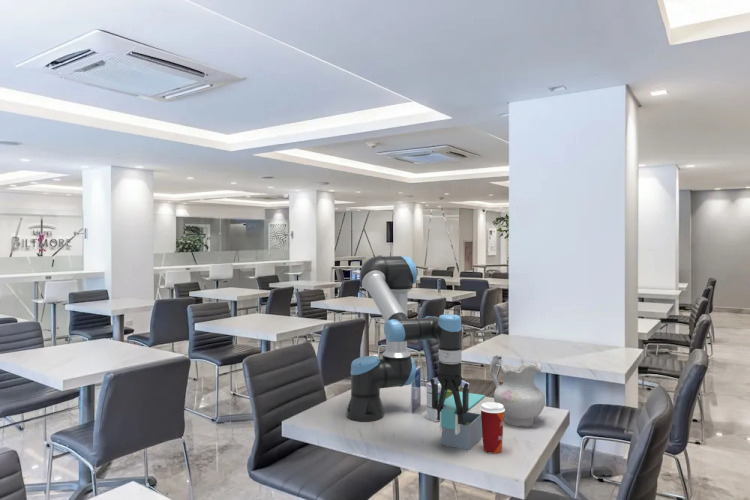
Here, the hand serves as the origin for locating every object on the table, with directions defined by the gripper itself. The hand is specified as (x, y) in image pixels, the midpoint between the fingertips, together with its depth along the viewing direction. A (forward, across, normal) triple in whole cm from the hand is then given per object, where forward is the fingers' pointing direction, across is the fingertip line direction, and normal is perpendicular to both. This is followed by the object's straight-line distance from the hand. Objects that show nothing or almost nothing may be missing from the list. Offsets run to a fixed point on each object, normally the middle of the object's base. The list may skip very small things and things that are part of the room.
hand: (449, 431), depth 169 cm
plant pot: (+7, -18, +43) cm, 47 cm away
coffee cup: (+7, +12, +8) cm, 16 cm away
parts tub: (+7, 0, +11) cm, 13 cm away
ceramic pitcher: (+7, +11, +41) cm, 43 cm away
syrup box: (+7, -17, +28) cm, 34 cm away
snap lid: (-2, 0, +9) cm, 10 cm away
